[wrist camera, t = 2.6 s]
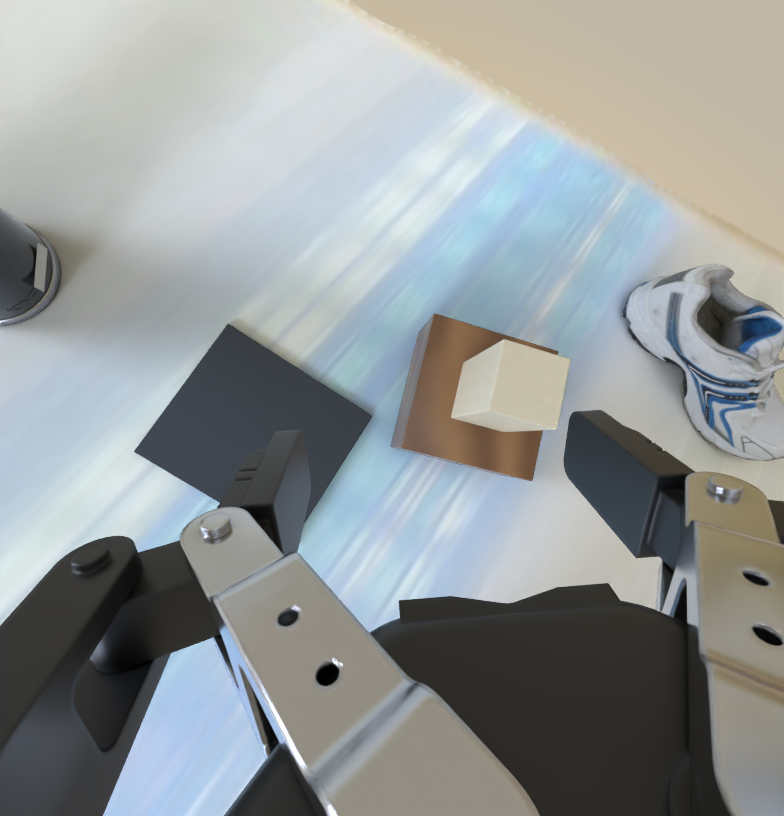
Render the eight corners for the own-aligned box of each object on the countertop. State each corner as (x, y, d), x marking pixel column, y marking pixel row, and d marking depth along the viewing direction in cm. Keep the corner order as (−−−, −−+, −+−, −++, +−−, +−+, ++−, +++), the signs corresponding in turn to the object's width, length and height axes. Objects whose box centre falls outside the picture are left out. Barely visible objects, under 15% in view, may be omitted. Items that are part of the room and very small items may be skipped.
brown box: (390, 446, 38) (401, 447, 32) (418, 332, 40) (434, 313, 34) (502, 475, 40) (532, 481, 34) (525, 363, 41) (558, 351, 35)
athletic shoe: (735, 477, 44) (892, 462, 33) (591, 335, 43) (704, 271, 32) (756, 416, 48) (902, 385, 37) (626, 284, 47) (736, 213, 36)
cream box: (450, 417, 33) (488, 410, 25) (463, 362, 34) (504, 338, 26) (504, 432, 34) (557, 429, 26) (515, 377, 34) (571, 359, 27)
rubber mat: (135, 451, 34) (133, 451, 34) (229, 324, 37) (228, 323, 36) (291, 543, 36) (290, 544, 36) (371, 416, 38) (372, 415, 38)
